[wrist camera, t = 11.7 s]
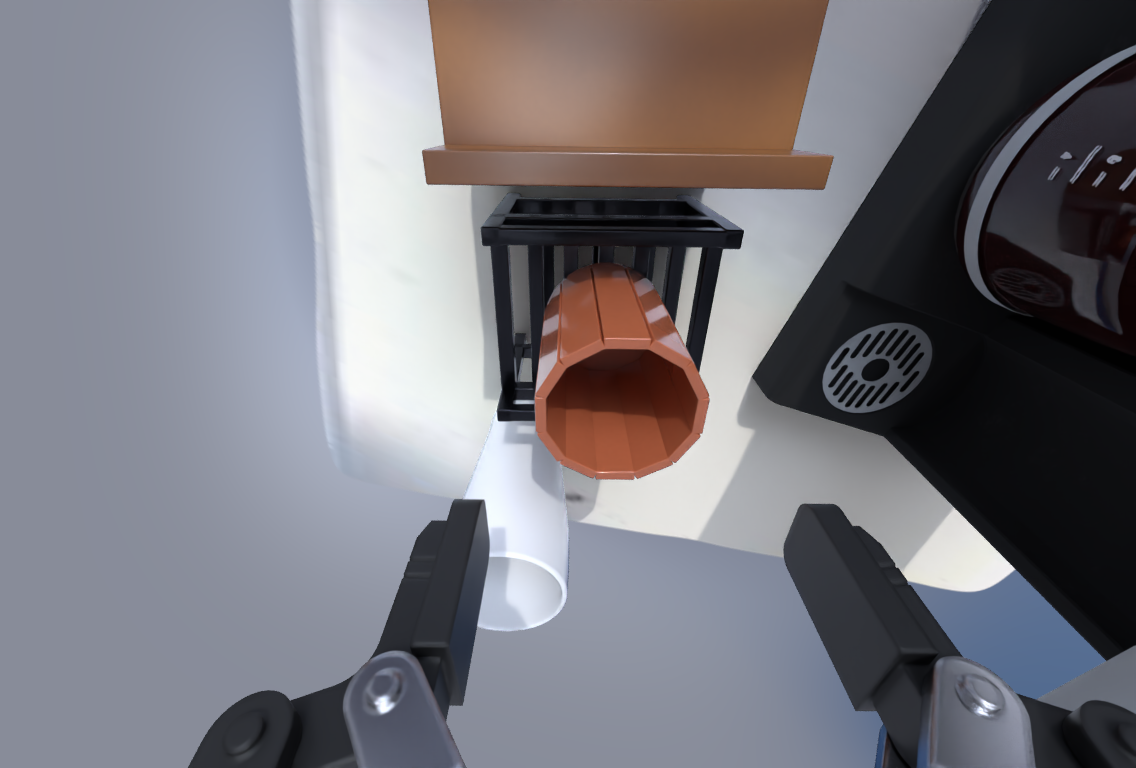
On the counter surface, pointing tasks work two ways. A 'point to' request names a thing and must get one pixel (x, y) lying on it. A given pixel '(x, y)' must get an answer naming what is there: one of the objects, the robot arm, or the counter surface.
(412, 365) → the counter surface
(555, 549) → the drinking glass
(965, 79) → the coffee maker
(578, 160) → the wooden open box
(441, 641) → the robot arm
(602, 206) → the rack
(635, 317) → the cup
